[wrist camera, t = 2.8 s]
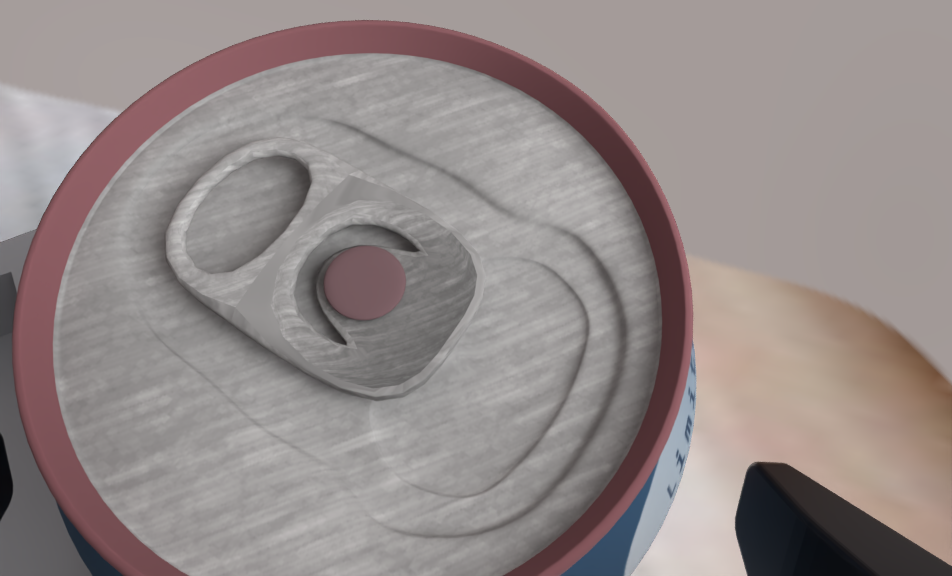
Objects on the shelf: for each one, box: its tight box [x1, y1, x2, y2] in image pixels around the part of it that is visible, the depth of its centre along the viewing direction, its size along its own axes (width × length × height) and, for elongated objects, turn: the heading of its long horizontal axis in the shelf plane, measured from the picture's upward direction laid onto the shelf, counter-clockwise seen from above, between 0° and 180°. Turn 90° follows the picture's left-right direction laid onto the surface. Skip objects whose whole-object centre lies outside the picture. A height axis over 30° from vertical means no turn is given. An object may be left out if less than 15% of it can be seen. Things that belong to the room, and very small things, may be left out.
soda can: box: [12, 20, 696, 576], centre depth 12 cm, size 7×7×12 cm
